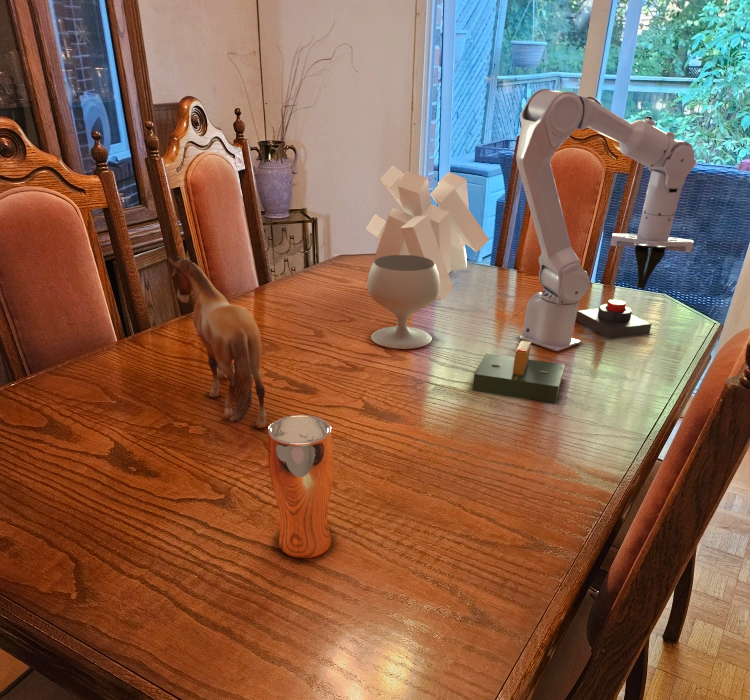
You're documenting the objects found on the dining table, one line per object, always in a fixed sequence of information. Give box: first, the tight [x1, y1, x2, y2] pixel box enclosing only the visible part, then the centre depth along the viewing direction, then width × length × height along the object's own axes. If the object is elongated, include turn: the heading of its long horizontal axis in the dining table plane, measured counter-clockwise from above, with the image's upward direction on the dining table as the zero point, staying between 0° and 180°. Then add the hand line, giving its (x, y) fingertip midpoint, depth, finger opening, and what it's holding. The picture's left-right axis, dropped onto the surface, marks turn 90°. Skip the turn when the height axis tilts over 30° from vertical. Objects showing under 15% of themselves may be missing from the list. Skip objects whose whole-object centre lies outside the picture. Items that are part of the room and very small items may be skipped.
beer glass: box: [267, 414, 335, 559], centre depth 74 cm, size 7×7×15 cm
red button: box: [606, 299, 627, 312], centre depth 139 cm, size 4×4×2 cm
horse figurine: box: [167, 256, 267, 429], centre depth 101 cm, size 31×8×21 cm, turn 26°
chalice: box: [366, 255, 440, 350], centre depth 129 cm, size 14×14×15 cm
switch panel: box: [472, 353, 565, 404], centre depth 115 cm, size 14×10×3 cm
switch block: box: [575, 303, 652, 340], centre depth 141 cm, size 12×10×4 cm
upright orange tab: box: [513, 340, 532, 375], centre depth 113 cm, size 6×2×4 cm, turn 161°
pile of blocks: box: [365, 165, 490, 301], centre depth 159 cm, size 35×30×35 cm
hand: (640, 286), depth 131 cm, fingers closed
